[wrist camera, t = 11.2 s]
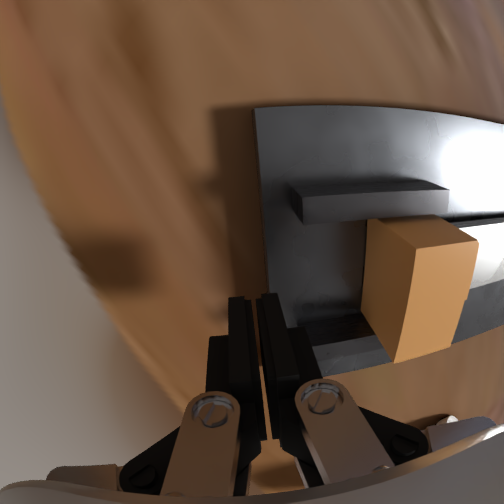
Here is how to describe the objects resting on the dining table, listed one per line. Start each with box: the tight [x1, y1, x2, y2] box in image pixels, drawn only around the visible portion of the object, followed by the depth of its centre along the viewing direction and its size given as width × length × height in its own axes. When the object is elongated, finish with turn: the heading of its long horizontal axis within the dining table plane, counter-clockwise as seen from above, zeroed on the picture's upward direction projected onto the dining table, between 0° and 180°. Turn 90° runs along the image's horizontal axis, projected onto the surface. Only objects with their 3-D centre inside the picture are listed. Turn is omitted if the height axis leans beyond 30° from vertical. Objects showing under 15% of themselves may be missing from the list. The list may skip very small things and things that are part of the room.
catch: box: [361, 214, 480, 364], centre depth 12 cm, size 5×5×4 cm
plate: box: [252, 105, 504, 377], centre depth 14 cm, size 14×24×4 cm, turn 95°
